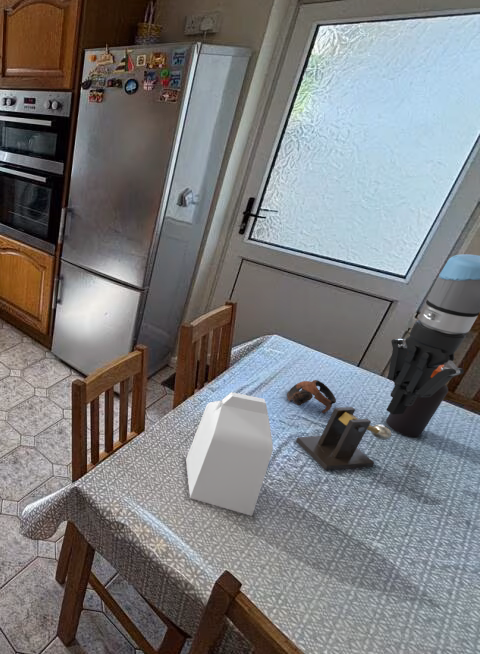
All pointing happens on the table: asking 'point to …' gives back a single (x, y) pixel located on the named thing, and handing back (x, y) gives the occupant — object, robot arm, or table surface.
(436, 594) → the table surface
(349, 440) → the dark grey lever stand
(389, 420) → the bottle
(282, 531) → the table surface
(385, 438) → the tap lever
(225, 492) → the milk
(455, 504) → the table surface
